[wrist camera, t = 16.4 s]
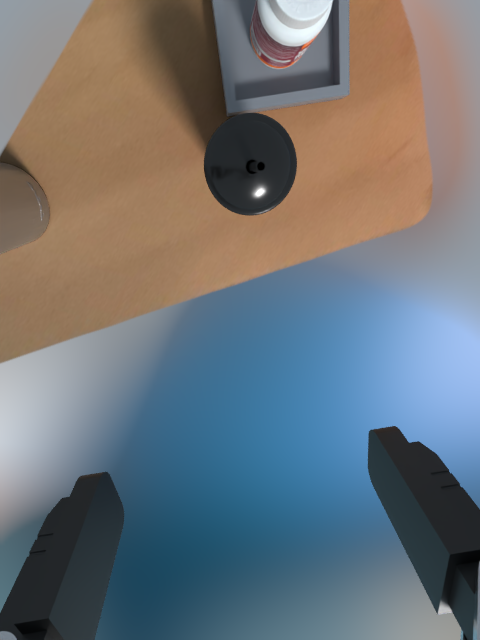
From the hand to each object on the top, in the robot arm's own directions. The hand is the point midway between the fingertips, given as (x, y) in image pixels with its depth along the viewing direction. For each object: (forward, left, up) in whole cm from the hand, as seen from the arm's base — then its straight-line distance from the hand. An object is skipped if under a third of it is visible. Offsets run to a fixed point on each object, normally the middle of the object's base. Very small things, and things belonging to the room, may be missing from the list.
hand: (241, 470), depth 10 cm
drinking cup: (+4, +8, -36) cm, 37 cm away
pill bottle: (+9, +20, -36) cm, 42 cm away
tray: (+10, +20, -36) cm, 42 cm away
